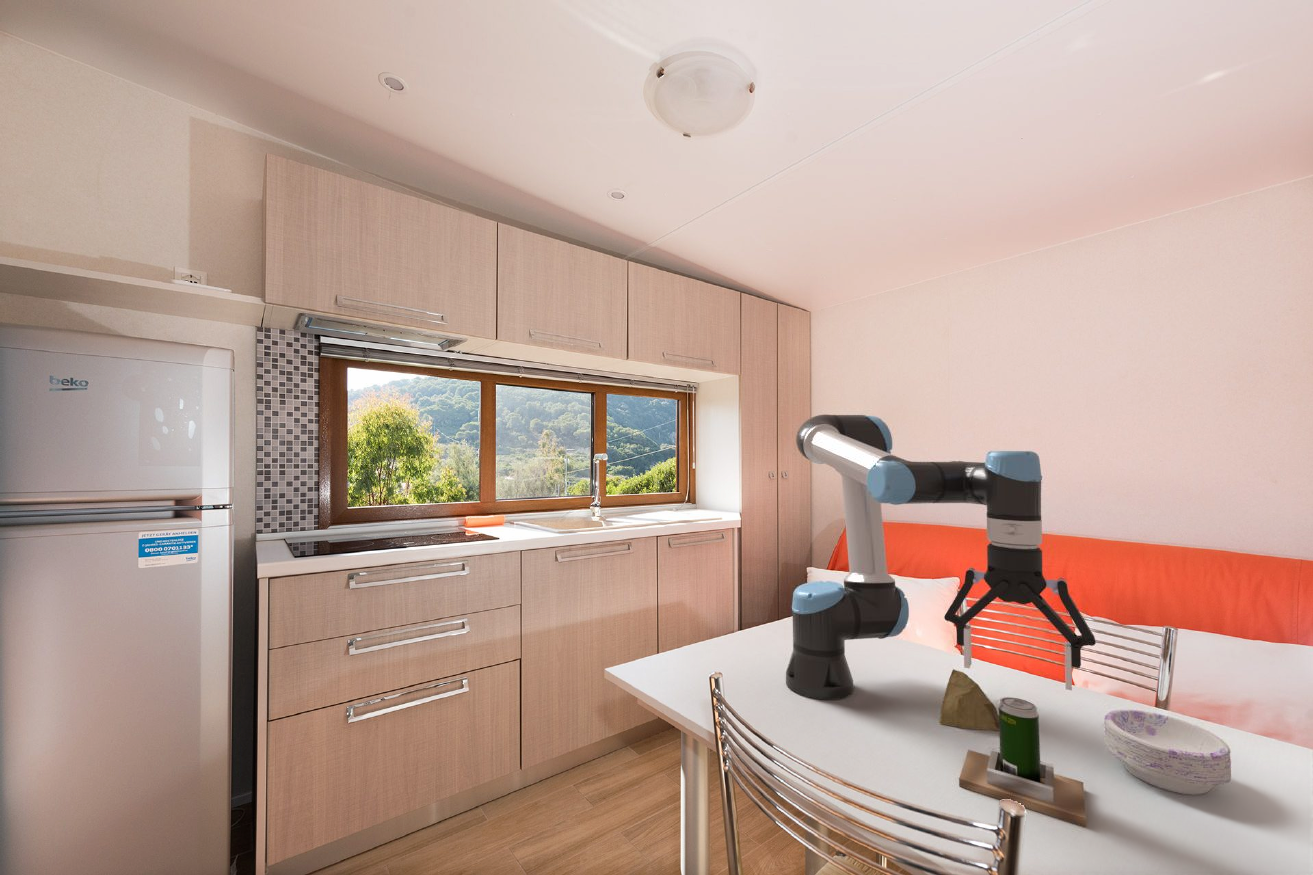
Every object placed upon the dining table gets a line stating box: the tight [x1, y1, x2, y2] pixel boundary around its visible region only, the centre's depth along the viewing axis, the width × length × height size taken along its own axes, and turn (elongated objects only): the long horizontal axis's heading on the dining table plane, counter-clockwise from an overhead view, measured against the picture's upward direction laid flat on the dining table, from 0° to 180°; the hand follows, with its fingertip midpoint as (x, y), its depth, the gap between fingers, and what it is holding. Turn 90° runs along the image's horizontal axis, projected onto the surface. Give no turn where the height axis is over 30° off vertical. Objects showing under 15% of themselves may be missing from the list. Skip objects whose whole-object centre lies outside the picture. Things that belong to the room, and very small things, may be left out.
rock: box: [938, 668, 999, 731], centre depth 106 cm, size 11×9×10 cm
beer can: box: [998, 696, 1041, 783], centre depth 86 cm, size 5×5×12 cm
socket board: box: [958, 747, 1087, 828], centre depth 86 cm, size 16×11×3 cm
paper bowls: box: [1103, 709, 1232, 796], centre depth 89 cm, size 15×15×8 cm
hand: (1015, 675), depth 87 cm, fingers open, 13 cm apart
